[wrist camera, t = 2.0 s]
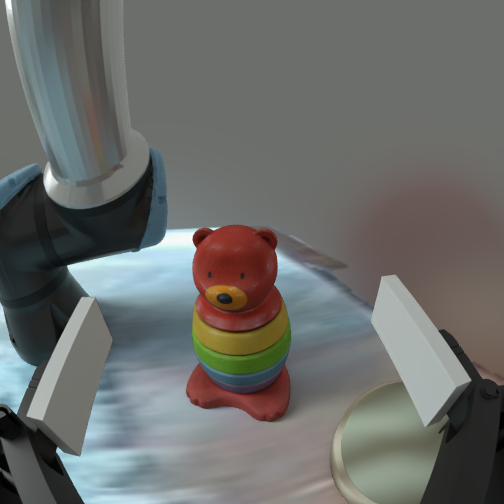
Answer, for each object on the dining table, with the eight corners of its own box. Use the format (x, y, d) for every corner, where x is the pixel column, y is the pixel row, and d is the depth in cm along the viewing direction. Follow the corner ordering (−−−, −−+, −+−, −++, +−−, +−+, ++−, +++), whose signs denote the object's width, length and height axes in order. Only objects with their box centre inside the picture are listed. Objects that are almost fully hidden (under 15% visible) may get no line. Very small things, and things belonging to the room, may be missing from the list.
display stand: (306, 422, 26) (310, 408, 24) (421, 375, 29) (430, 359, 27) (366, 547, 13) (377, 545, 11) (486, 465, 16) (502, 453, 15)
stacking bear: (181, 403, 28) (134, 258, 19) (212, 338, 36) (193, 203, 27) (283, 425, 25) (299, 278, 17) (298, 352, 34) (311, 210, 25)
